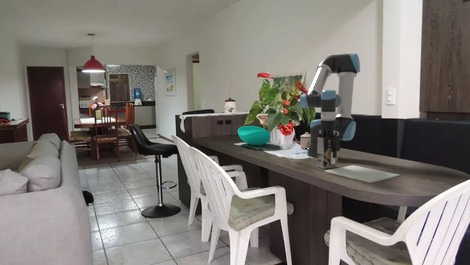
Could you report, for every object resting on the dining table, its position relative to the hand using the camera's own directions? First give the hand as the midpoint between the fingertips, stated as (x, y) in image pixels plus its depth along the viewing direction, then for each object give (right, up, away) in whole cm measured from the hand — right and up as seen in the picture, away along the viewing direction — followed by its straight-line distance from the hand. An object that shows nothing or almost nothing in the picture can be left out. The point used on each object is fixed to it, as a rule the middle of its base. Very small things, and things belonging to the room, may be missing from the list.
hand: (327, 162), depth 175 cm
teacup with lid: (+4, +4, +63) cm, 63 cm away
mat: (+12, -4, -16) cm, 20 cm away
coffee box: (0, -2, 0) cm, 2 cm away
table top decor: (-32, +6, +81) cm, 88 cm away
